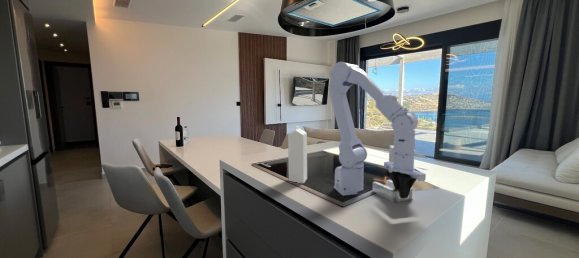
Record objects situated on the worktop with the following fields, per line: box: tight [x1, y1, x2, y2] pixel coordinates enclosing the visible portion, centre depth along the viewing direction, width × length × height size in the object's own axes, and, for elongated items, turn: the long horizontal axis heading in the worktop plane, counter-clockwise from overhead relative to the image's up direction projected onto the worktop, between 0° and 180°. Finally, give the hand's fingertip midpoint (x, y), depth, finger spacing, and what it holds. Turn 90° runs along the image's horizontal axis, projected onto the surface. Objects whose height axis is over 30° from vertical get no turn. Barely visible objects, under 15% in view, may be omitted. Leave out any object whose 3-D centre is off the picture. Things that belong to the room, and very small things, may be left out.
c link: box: [372, 179, 414, 204], centre depth 80 cm, size 10×7×4 cm
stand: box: [411, 180, 440, 192], centre depth 88 cm, size 14×9×7 cm, turn 102°
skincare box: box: [388, 144, 394, 173], centre depth 103 cm, size 6×4×12 cm
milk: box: [287, 124, 308, 184], centre depth 97 cm, size 6×6×22 cm
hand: (401, 196), depth 76 cm, fingers closed on c link
